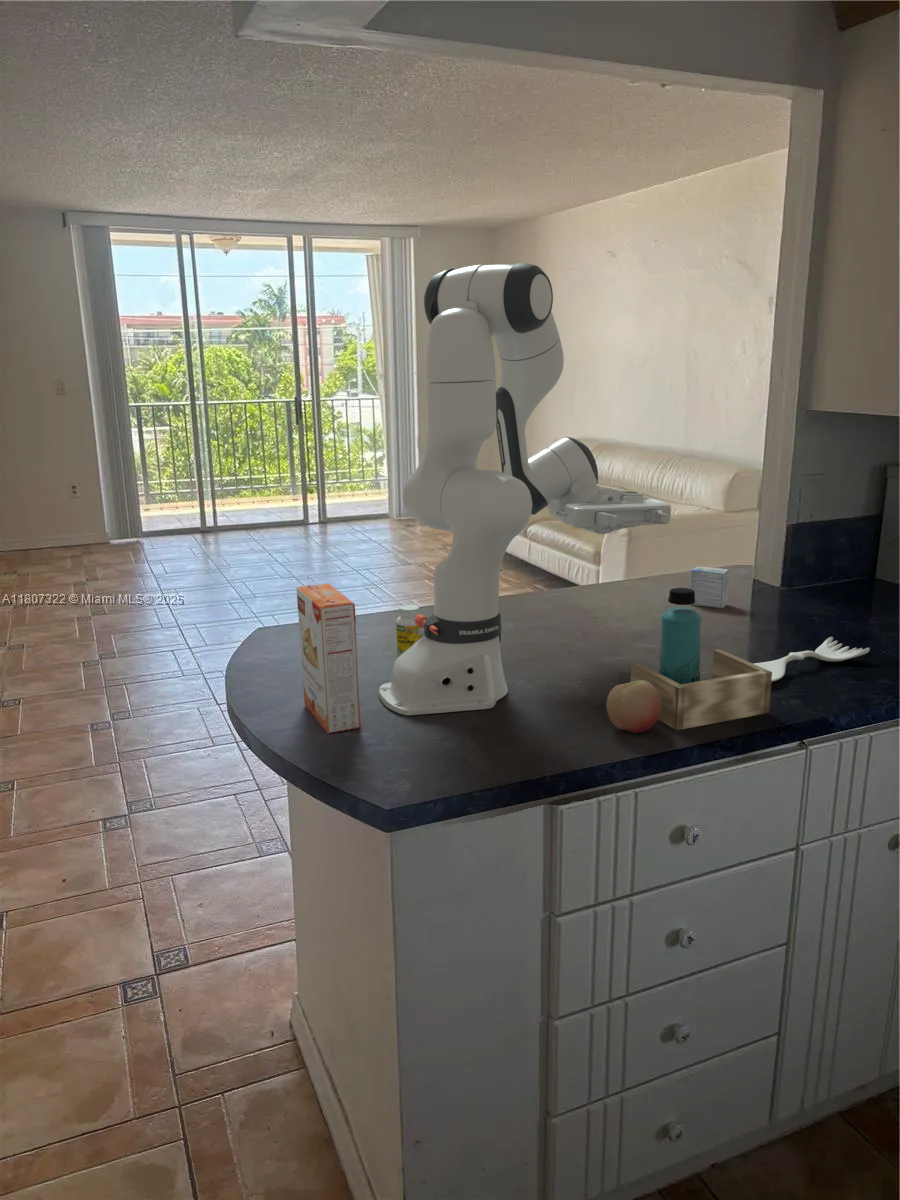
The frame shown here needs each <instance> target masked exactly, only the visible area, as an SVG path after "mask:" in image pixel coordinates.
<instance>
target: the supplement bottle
mask: <svg viewBox="0 0 900 1200" xmlns="http://www.w3.org/2000/svg"><path fill="white" fill-rule="evenodd" d="M398 614H399V615H400V616H398V617H397V618H396V621H395V626H396V652H397V655H398V656H400V655H401V654H403V653H404V652H405V651H406V650H408V649H409V648H410V647H411V646H412V645H414V644H415V643H416V642H417V641H418V640H419V639H421V638H422V637H423V636H424V628H421V627H419V626H418V625H416V623H415V621H414V620H416V619H415V618H416V616H417V615H419V614H421V613H420V606H419V605H415V604H406V605H400V606H399V608H398Z"/></svg>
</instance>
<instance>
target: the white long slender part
mask: <svg viewBox="0 0 900 1200" xmlns="http://www.w3.org/2000/svg"><path fill="white" fill-rule="evenodd" d="M833 640H834V637H833V636H829V637H828V638H826V639H825V640H824V641H823V643H822V644H820V645H819V646H818V647H817V648H816V649H815V650H814V651H813V650H804V651H797V652H796V651H795V652H789V653H788V655H786V656H783V657H781V658H779V659H774V660H770V661H764V662H756V663H753V664H755V665H757V666H759V667H762V668H764V669H766V670H769V671H771V672H772V680H771V683H773V682H776V681H778V680H780V679H782V678H783V677H784V676H785V673H786V669H787V668H786V667H787V664H788V663H789V662H791V661H795V660H796V661H797V660H798V661H801V660H804V659H805V658H808V657H813V658H816V659H817V660H820V661H823V662H827V663H828V662H829V663H833V662H835V663H836V662H843V661H846V660H849V659H853V658H857V657H861V656H863V655H864V656H865V655H866V654H868V653H869V652H870V649H871V647H866V648H864V649H863V647H860V648H857V647H854V648H852V649H850V646H844V647H842V646H843V643H839V644H838V642H839V641H838V640H834V641H833Z"/></svg>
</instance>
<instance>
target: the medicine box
mask: <svg viewBox="0 0 900 1200" xmlns="http://www.w3.org/2000/svg"><path fill="white" fill-rule="evenodd" d="M690 572H691V573H690V587H689V589H692V590H694V592H695V603H694V604H691V605H692V606H700V607H708V608H716V609H724V608H725V607H726V606H727V605H728V602H729V601H728V598H729V584H730V583H729V582H730V569H727V568H719V567H709V566H708V567H707V566H696V567H694V568H692V569H691V571H690Z"/></svg>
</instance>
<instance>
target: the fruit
mask: <svg viewBox="0 0 900 1200" xmlns="http://www.w3.org/2000/svg"><path fill="white" fill-rule="evenodd" d="M605 704H606V712H607V715H608V718H609V719H610V722H611V723H612V724H613V725H614V727H616V728H617V729H619V730H621V731H628V732H631V733H635V734H636V733H644V732H646V731H648V730H650V729H651V728H652V727H654V725H656V724H657V722H658V721H659V720H658V718H659V716H660V713H661V699H660V696H659V694H658V692H657V690H656V689H655V687H654V686H653V685H652V684H650V683H649V682H647V681H644V680H639V681H634V682H631V681H630V682H626V683H622V684H621V683H620V684H617V685H616V686H614V687H613V688H612V689H611V690H610V692H609V693H608V695H607V700H606V703H605Z"/></svg>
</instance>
